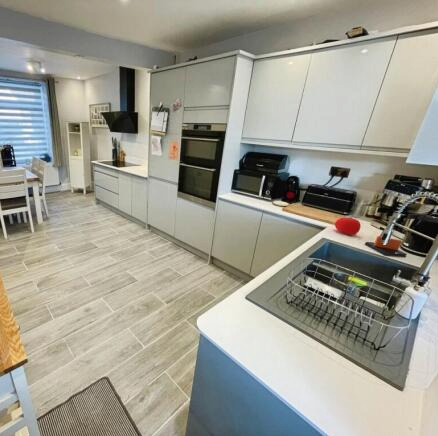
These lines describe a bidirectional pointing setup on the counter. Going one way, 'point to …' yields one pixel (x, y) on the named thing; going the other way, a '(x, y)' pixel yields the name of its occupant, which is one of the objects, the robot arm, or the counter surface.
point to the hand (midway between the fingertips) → (409, 216)
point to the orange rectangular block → (390, 245)
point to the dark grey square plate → (386, 250)
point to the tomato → (348, 225)
